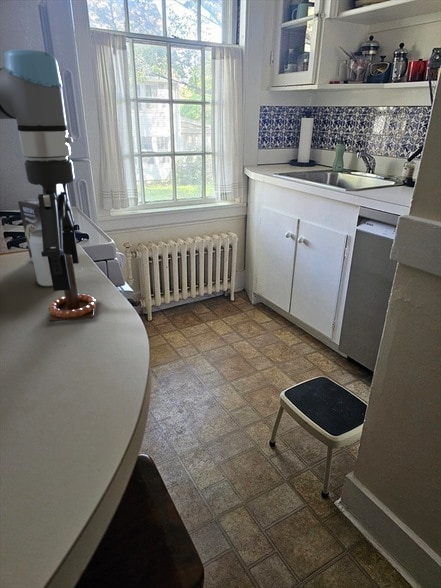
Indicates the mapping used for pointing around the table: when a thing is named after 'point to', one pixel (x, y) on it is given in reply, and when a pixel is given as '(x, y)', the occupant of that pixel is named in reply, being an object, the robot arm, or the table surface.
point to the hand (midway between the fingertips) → (67, 275)
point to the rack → (72, 296)
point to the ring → (72, 313)
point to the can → (40, 259)
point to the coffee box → (30, 218)
